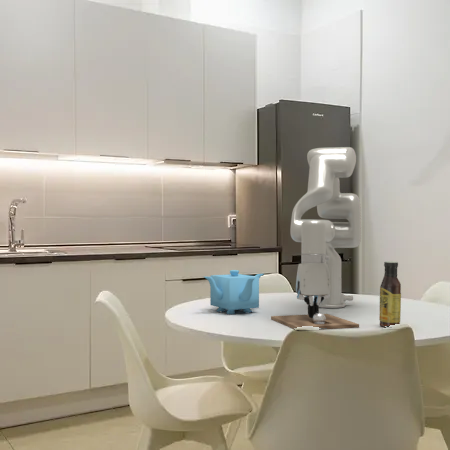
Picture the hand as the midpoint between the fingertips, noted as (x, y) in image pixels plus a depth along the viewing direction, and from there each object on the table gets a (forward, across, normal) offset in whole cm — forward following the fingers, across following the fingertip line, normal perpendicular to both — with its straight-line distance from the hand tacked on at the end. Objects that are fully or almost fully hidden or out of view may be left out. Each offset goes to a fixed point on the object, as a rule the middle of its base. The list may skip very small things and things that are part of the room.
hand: (313, 317), depth 195 cm
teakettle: (+2, +16, -30) cm, 34 cm away
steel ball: (0, 0, +4) cm, 5 cm away
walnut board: (+2, 0, 0) cm, 2 cm away
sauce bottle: (+2, -20, +12) cm, 23 cm away
